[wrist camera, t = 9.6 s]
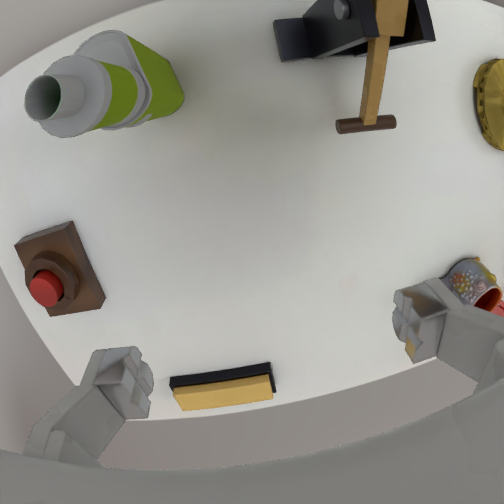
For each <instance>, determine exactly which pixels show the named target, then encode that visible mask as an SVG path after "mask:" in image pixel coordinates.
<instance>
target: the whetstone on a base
mask: <svg viewBox="0 0 504 504" xmlns="http://www.w3.org/2000/svg"><path fill="white" fill-rule="evenodd" d="M169 386H170V388H171V389H172V391H173V396H174V398H175V399H176V401H177V403H178V404H179V406H180V407H181V409H182V410H183V411H189V410H199V409H209V408H217V407H225V406H232V405H239V404H246V403H252V402H258V401H264V400H269V399H273V393H276V386H275V381H274V377H273V373H272V369H271V365H270V362H268V363H263V364H258V365H252V366H246V367H241V368H235V369H228V370H222V371H215V372H208V373H201V374H194V375H186V376H177V377H170V384H169Z"/></svg>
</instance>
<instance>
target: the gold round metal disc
mask: <svg viewBox="0 0 504 504" xmlns="http://www.w3.org/2000/svg"><path fill="white" fill-rule="evenodd" d="M473 87H475V88H476V89H477V108H478V114H479V119H480V122H481V125H482V128H483V130H484V131H483V132H482V135H483V137H484V138H485V139H486V141H487V142H488V143H489V144H490V145H491V146H493V147H494V148H496V149H499V150H502V151H504V59H494V60H491V61H490V62H488V63H487V64H482V65H481V66H480V68H479V69H478V71H477V73H476V76H475V79H474V84H473Z"/></svg>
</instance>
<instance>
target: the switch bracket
mask: <svg viewBox="0 0 504 504" xmlns="http://www.w3.org/2000/svg"><path fill="white" fill-rule="evenodd" d="M273 26H274V30H275V34H276V39H277V43H278V48H279V52H280V57H281V62H286V61H295V60H304V59H322V58H327V57H344V56H354V57H363V56H367V51H368V41H370V40H373V39H376V38H379V37H380V34H379V29H378V25H377V20H376V16H375V12H374V8H373V4H372V0H317V1H316V2H315V3H314V4H313V5H312V6H311V7H310V8H309V9H308V10H307V12H306V13H305V14H304V15H303V18H291V19H281V20H275V21H274V22H273ZM433 41H436V39H435V34H434V29H433V25H432V20H431V16H430V12H429V8H428V4H427V1H426V0H408V9H407V16H406V24H405V31H404V36H403V37H402V36H390V43H389V50H392V49H397V48H401V47H406V46H411V45H416V44H422V43H427V42H433Z"/></svg>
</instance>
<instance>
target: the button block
mask: <svg viewBox="0 0 504 504" xmlns="http://www.w3.org/2000/svg"><path fill="white" fill-rule="evenodd" d="M14 247H15V249H16V251H17V253H18V256H19V258H20V260H21V262H22V264H23V266H24V268H25V282H26V286H27V288H28V290H29V291H30V283H31V281H32V280H33V278H34V277H35V276H36V275H37V274H38V273H39V272H40V271H42V270H49V271H51V272H53V273H54V274H55V275H57V276H58V277H59V279H60V280H61V282H62V285H63V293H62V295H61V297H60V298H59V300H58V301H57V303H56V304H55V305H54V306H52V307H45V306H43V305H42V306H43V307H45V309H46V310H47V312H48V314H49V316H50V317H52V316H58V315H65V314H71V313H77V312H83V311H89V310H95V309H100V308H101V306H102V305H103V303H104V301H105V299H106V297H105V295H104V293H103V291H102V289H101V286H100V284H99V282H98V280H97V278H96V276H95V274H94V271H93V269H92V267H91V265H90V262H89V260H88V258H87V255H86V253H85V251H84V248H83V246H82V243H81V241H80V239H79V236H78V234H77V231H76V228H75V226H74V223H73V221H70V222H67V223H64V224H61V225H58V226H55V227H52V228H49V229H46V230H43V231H40V232H37V233H34V234H32V235H29V236H26V237H23V238H22V239H21V240H20V241H19V242H17V243H16V244H15V245H14ZM30 293H31V292H30ZM31 295H32V294H31ZM32 297H33V296H32Z"/></svg>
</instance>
